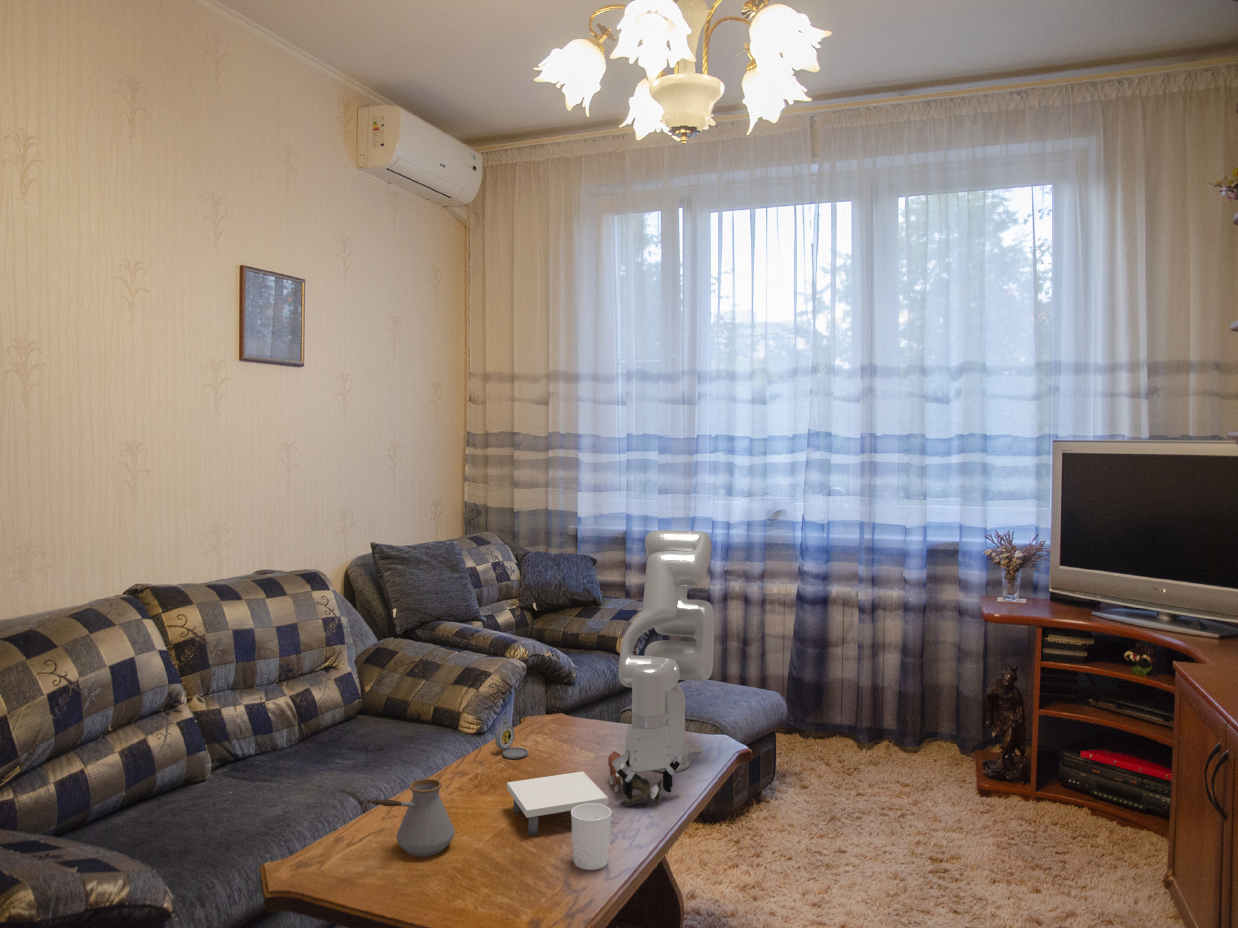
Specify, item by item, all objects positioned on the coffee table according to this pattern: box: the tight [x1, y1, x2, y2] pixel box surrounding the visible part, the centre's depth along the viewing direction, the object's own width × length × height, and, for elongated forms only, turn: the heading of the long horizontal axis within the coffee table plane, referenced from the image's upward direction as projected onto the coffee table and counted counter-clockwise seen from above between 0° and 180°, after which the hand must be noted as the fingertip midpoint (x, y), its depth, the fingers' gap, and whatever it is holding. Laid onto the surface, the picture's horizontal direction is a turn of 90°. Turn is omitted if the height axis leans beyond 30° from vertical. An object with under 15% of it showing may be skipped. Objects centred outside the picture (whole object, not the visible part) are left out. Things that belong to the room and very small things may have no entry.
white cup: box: [570, 803, 612, 871], centre depth 167 cm, size 8×8×10 cm
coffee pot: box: [362, 778, 455, 857], centre depth 169 cm, size 21×12×15 cm, turn 148°
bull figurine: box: [607, 750, 627, 793], centre depth 204 cm, size 4×13×8 cm, turn 7°
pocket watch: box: [495, 714, 529, 760], centre depth 226 cm, size 8×8×10 cm
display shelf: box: [506, 771, 609, 837], centre depth 188 cm, size 18×16×6 cm
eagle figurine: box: [619, 773, 663, 807], centre depth 195 cm, size 8×7×9 cm
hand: (647, 793), depth 196 cm, fingers open, 9 cm apart
